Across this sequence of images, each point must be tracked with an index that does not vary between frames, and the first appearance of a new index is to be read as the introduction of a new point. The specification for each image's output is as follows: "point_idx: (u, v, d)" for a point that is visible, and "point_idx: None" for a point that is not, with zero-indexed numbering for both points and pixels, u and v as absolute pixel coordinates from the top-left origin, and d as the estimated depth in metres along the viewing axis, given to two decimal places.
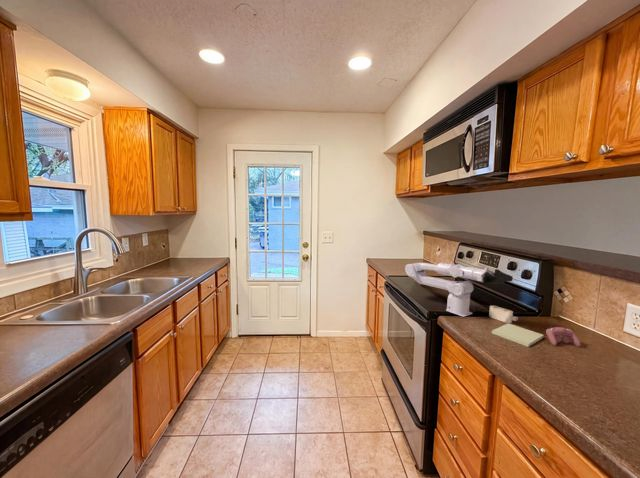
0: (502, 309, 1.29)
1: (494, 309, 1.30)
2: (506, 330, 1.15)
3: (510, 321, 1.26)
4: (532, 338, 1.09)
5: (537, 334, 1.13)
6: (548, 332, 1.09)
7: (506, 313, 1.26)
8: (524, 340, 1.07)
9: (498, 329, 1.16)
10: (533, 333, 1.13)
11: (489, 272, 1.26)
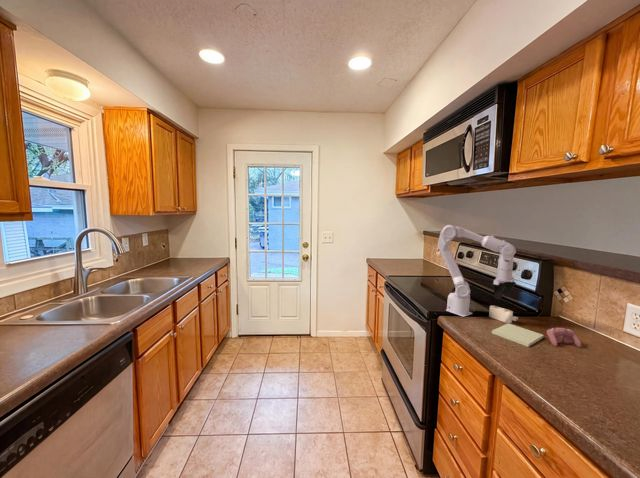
0: (502, 309, 1.29)
1: (494, 309, 1.30)
2: (506, 330, 1.15)
3: (510, 321, 1.26)
4: (532, 338, 1.09)
5: (537, 334, 1.13)
6: (549, 332, 1.08)
7: (506, 313, 1.26)
8: (524, 340, 1.07)
9: (498, 329, 1.16)
10: (533, 333, 1.13)
11: None
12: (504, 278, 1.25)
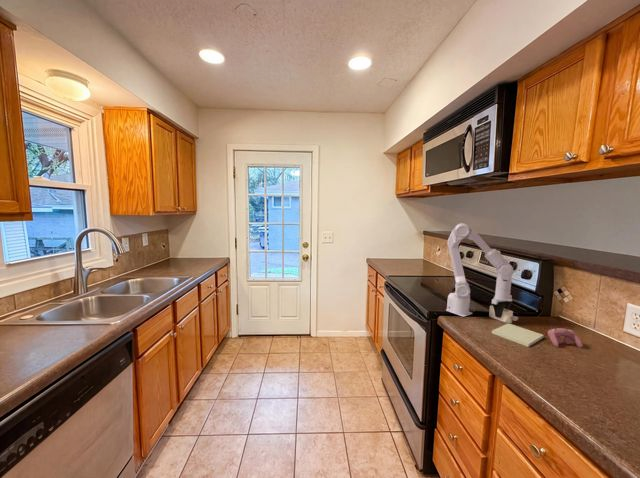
0: None
1: None
2: (506, 330, 1.15)
3: (510, 321, 1.26)
4: (532, 338, 1.09)
5: (537, 334, 1.13)
6: (550, 333, 1.08)
7: (506, 313, 1.26)
8: (524, 340, 1.07)
9: (498, 329, 1.16)
10: (533, 333, 1.13)
11: None
12: (502, 297, 1.26)
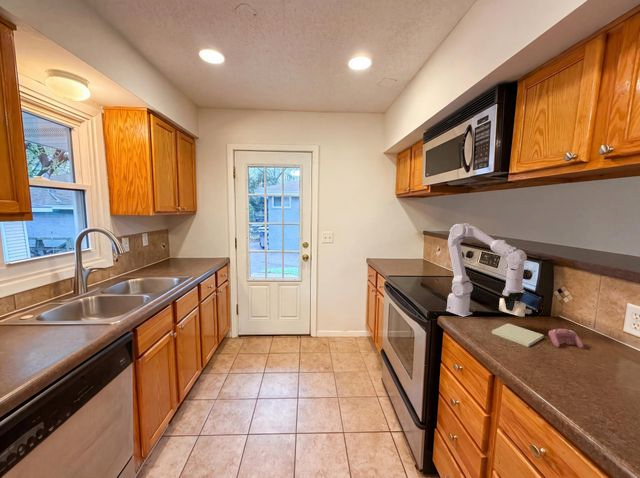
0: None
1: None
2: (506, 330, 1.15)
3: (523, 314, 1.16)
4: (532, 338, 1.09)
5: (537, 334, 1.13)
6: (550, 334, 1.08)
7: (518, 306, 1.16)
8: (524, 340, 1.07)
9: (498, 329, 1.16)
10: (533, 333, 1.13)
11: None
12: (514, 288, 1.16)
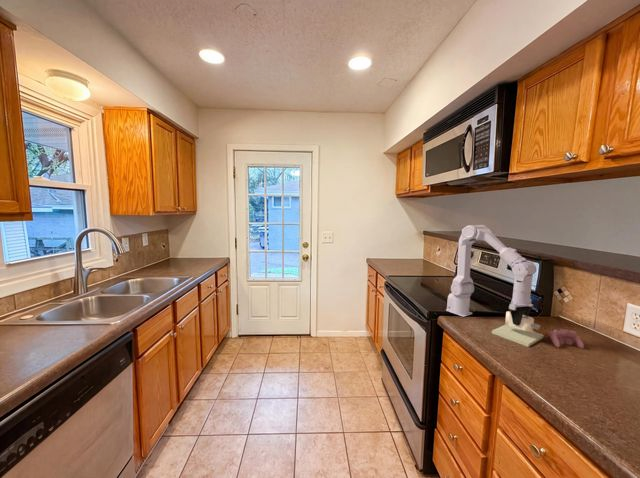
0: None
1: None
2: (506, 330, 1.15)
3: (531, 330, 1.09)
4: (532, 338, 1.09)
5: (537, 334, 1.13)
6: (551, 334, 1.07)
7: (526, 320, 1.09)
8: (524, 340, 1.07)
9: (498, 329, 1.16)
10: (533, 333, 1.13)
11: None
12: (521, 302, 1.10)
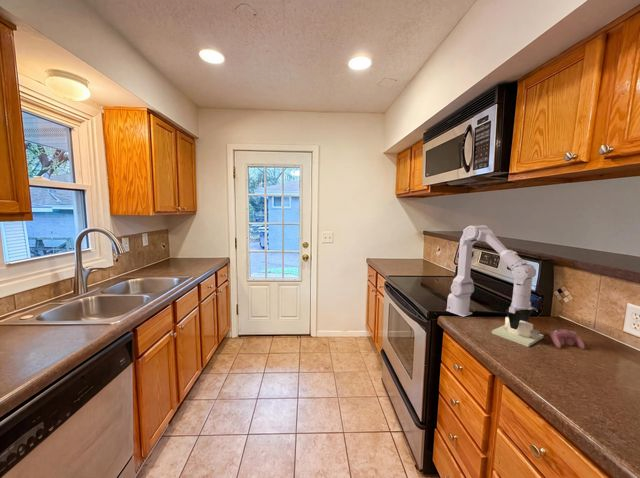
0: (520, 321, 1.12)
1: None
2: None
3: (530, 336, 1.09)
4: (532, 338, 1.09)
5: None
6: (552, 334, 1.07)
7: (525, 326, 1.09)
8: (524, 340, 1.07)
9: (498, 329, 1.16)
10: None
11: None
12: (521, 305, 1.10)
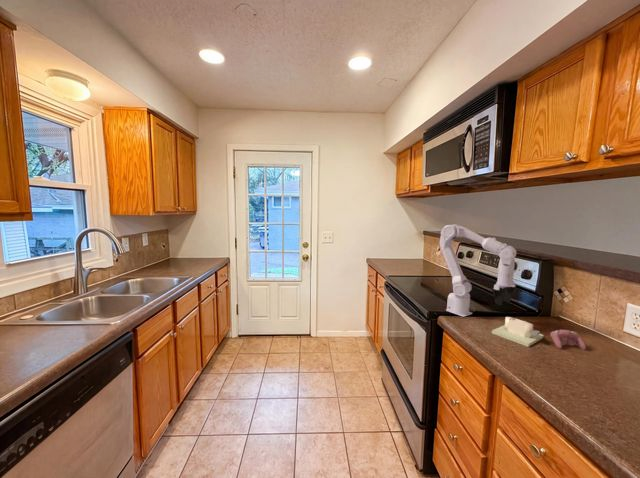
0: (520, 321, 1.12)
1: (511, 321, 1.14)
2: None
3: (530, 336, 1.09)
4: (532, 338, 1.09)
5: None
6: (553, 335, 1.07)
7: (525, 326, 1.09)
8: (524, 340, 1.07)
9: (498, 329, 1.16)
10: None
11: None
12: (505, 283, 1.21)
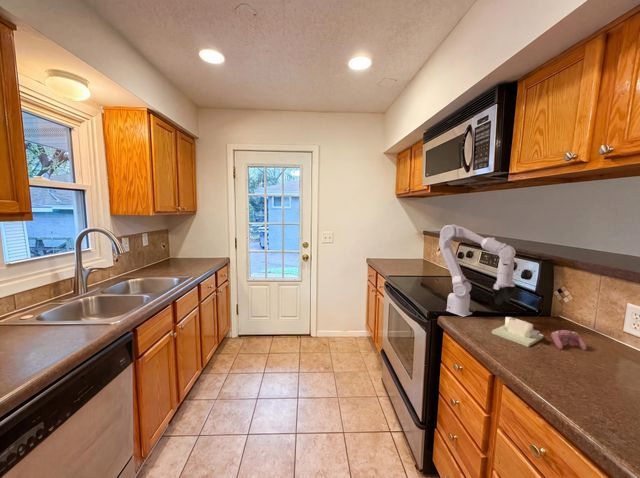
0: (520, 321, 1.12)
1: (511, 321, 1.14)
2: None
3: (530, 336, 1.09)
4: (532, 338, 1.09)
5: None
6: (553, 335, 1.06)
7: (525, 326, 1.09)
8: (524, 340, 1.07)
9: (498, 329, 1.16)
10: None
11: None
12: (504, 282, 1.22)
